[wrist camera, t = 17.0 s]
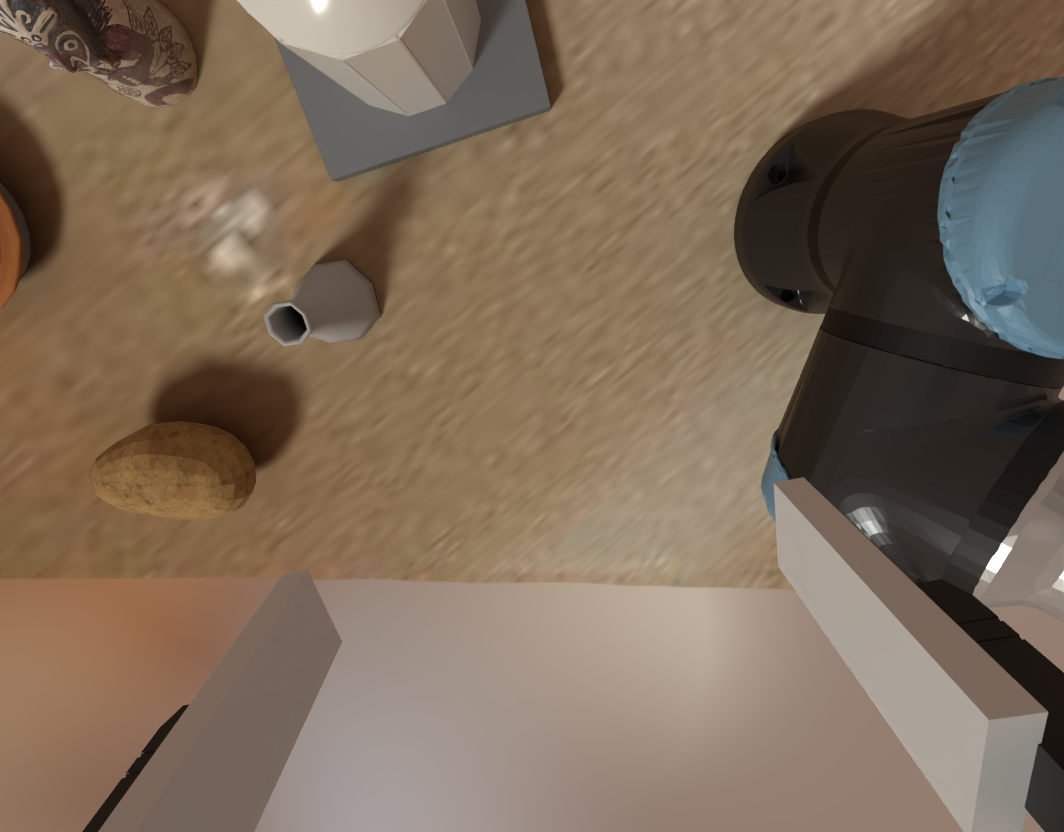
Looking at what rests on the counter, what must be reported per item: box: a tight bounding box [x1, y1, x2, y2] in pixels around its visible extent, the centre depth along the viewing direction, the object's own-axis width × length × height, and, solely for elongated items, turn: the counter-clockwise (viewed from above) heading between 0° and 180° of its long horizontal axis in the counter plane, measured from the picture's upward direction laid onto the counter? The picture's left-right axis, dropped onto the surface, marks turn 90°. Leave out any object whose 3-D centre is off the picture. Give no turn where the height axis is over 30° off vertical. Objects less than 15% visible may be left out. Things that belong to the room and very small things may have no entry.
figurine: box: [0, 0, 198, 109], centre depth 32 cm, size 7×7×12 cm
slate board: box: [274, 0, 551, 181], centre depth 36 cm, size 18×16×2 cm
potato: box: [89, 421, 256, 521], centre depth 46 cm, size 10×14×8 cm
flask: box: [263, 260, 381, 346], centre depth 39 cm, size 7×7×10 cm
